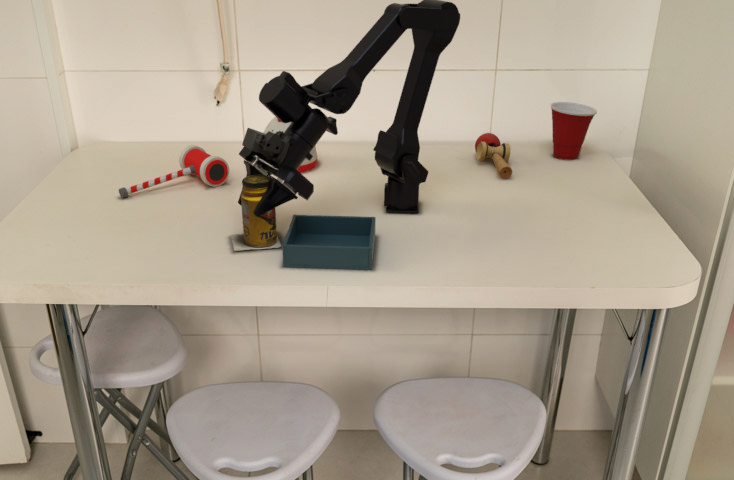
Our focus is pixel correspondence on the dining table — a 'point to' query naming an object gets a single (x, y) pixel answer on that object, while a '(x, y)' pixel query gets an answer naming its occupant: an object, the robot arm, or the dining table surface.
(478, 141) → the kendama
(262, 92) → the robot arm
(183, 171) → the toy hammer
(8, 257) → the dining table surface
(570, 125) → the plastic cup
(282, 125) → the kitchen timer
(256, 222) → the condiment
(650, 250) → the dining table surface
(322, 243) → the tote
